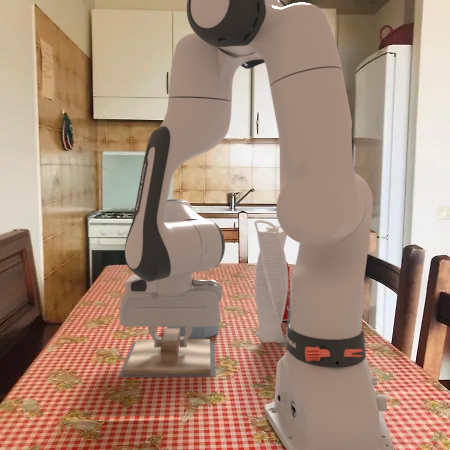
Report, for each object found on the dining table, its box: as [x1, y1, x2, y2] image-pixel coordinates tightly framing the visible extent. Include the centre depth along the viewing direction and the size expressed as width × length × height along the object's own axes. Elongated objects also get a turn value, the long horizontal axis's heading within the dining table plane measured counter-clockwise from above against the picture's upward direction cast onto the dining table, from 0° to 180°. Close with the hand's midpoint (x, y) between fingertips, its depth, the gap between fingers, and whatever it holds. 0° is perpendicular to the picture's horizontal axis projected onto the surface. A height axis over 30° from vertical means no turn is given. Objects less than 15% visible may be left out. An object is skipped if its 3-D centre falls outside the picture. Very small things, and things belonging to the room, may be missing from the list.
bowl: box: [166, 323, 220, 339], centre depth 115 cm, size 12×12×6 cm
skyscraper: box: [254, 219, 291, 348], centre depth 109 cm, size 8×8×28 cm
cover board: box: [125, 327, 211, 375], centre depth 98 cm, size 16×16×4 cm
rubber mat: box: [118, 341, 217, 378], centre depth 99 cm, size 18×18×1 cm
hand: (170, 346), depth 98 cm, fingers open, 4 cm apart
